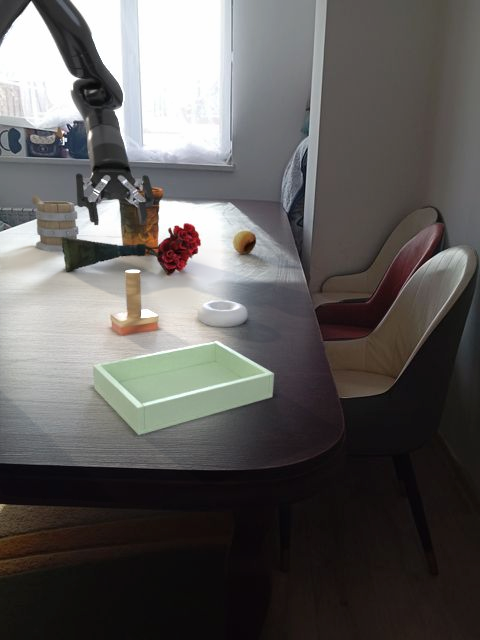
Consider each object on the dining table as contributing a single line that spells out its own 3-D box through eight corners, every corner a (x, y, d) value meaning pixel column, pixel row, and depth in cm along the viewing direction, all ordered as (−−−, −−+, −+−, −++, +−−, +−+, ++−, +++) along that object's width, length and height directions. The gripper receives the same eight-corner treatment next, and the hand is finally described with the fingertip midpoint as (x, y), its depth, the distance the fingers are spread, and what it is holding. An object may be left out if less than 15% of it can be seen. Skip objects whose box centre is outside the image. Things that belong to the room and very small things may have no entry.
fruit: (256, 253, 174) (257, 229, 171) (253, 257, 166) (255, 232, 163) (234, 251, 174) (235, 227, 171) (230, 256, 166) (231, 231, 164)
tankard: (88, 248, 165) (84, 200, 160) (50, 252, 156) (45, 201, 151) (56, 240, 177) (52, 194, 172) (20, 243, 168) (14, 195, 163)
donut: (251, 330, 98) (242, 313, 107) (252, 312, 97) (243, 297, 106) (199, 331, 96) (194, 314, 105) (199, 313, 95) (194, 298, 104)
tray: (138, 437, 59) (137, 408, 58) (94, 390, 70) (92, 364, 69) (272, 398, 71) (274, 373, 69) (216, 363, 81) (217, 340, 80)
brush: (121, 337, 90) (118, 275, 86) (111, 329, 94) (107, 270, 90) (158, 331, 94) (157, 272, 90) (147, 324, 98) (146, 267, 94)
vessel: (148, 259, 155) (146, 190, 148) (108, 254, 159) (104, 186, 152) (172, 252, 167) (171, 188, 160) (134, 247, 172) (132, 185, 165)
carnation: (69, 301, 136) (198, 288, 147) (63, 267, 119) (209, 256, 131) (62, 249, 141) (188, 241, 152) (55, 209, 124) (197, 203, 135)
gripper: (70, 139, 97) (80, 210, 91) (146, 143, 102) (160, 209, 96) (70, 167, 103) (80, 235, 97) (142, 169, 108) (155, 233, 103)
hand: (120, 222), depth 97 cm, fingers open, 8 cm apart
